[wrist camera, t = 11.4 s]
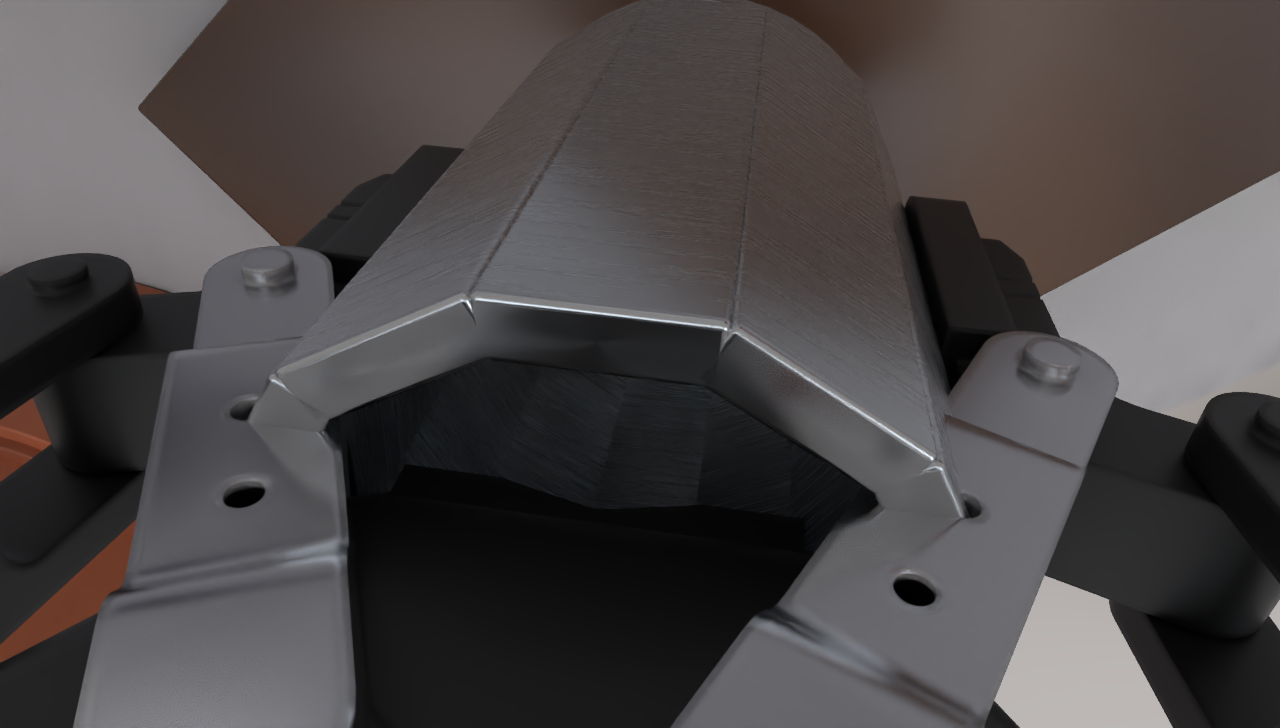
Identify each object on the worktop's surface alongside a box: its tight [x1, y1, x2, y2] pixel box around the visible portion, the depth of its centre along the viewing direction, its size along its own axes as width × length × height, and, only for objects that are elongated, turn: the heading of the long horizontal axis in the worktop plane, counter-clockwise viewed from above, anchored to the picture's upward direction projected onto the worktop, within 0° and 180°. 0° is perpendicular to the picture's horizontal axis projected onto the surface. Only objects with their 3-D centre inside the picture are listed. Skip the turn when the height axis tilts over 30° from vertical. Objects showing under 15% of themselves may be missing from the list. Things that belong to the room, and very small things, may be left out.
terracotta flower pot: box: [0, 283, 168, 663], centre depth 24 cm, size 15×15×10 cm
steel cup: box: [246, 0, 971, 552], centre depth 11 cm, size 6×6×9 cm
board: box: [138, 0, 1280, 296], centre depth 18 cm, size 20×15×2 cm
